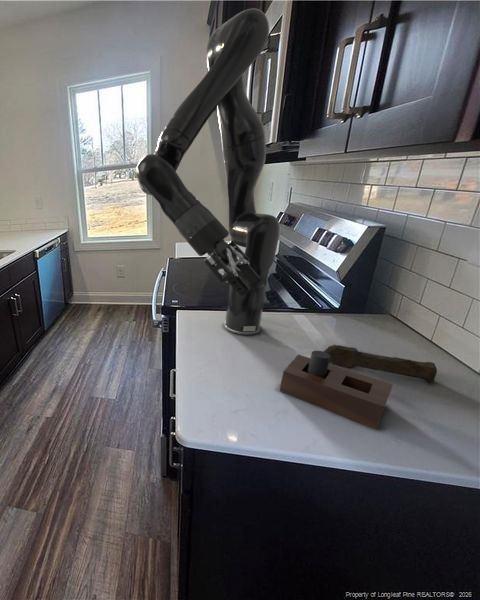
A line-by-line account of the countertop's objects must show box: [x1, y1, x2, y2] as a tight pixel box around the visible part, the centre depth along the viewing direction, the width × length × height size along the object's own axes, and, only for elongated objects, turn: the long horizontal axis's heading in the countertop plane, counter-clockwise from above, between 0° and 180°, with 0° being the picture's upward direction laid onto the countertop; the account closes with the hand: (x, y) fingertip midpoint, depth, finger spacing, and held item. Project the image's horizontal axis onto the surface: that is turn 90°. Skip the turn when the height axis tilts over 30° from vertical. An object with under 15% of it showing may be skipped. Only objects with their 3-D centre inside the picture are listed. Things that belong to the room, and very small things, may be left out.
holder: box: [279, 354, 394, 430], centre depth 63 cm, size 9×16×5 cm, turn 41°
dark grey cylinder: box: [307, 350, 330, 379], centre depth 65 cm, size 3×3×9 cm
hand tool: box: [322, 344, 438, 384], centre depth 71 cm, size 19×4×5 cm, turn 58°
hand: (251, 287), depth 66 cm, fingers open, 8 cm apart
